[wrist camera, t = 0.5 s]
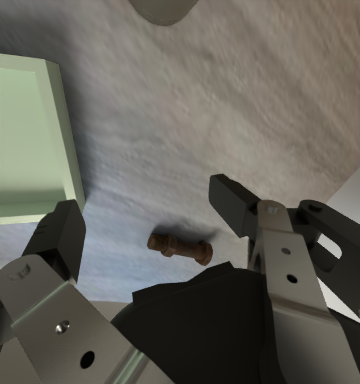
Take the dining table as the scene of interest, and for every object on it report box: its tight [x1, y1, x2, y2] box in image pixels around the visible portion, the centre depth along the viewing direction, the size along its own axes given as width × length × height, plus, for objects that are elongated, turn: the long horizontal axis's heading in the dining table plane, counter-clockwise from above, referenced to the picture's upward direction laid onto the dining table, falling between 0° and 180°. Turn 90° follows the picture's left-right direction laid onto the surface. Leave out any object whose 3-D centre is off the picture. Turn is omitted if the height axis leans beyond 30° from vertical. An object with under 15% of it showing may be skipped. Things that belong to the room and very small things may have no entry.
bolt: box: [147, 234, 213, 266], centre depth 40 cm, size 6×5×15 cm
